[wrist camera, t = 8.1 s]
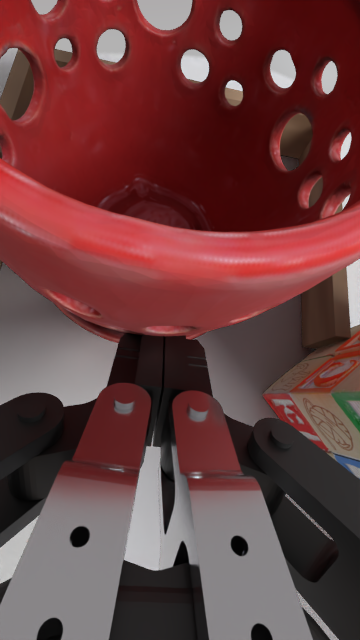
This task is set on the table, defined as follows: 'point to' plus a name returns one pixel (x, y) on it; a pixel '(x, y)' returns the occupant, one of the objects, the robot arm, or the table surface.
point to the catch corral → (332, 293)
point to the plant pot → (178, 164)
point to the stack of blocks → (325, 399)
